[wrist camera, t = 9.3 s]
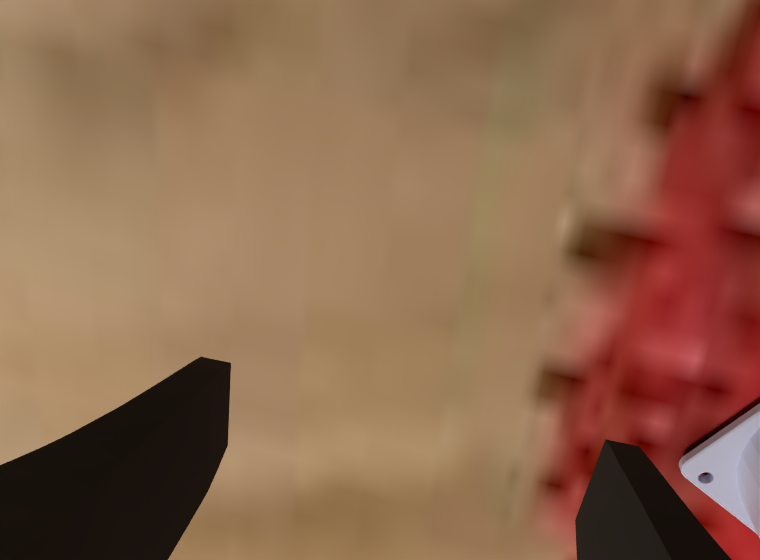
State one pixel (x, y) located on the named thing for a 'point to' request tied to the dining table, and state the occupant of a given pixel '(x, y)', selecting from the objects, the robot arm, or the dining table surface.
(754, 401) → the dining table surface
